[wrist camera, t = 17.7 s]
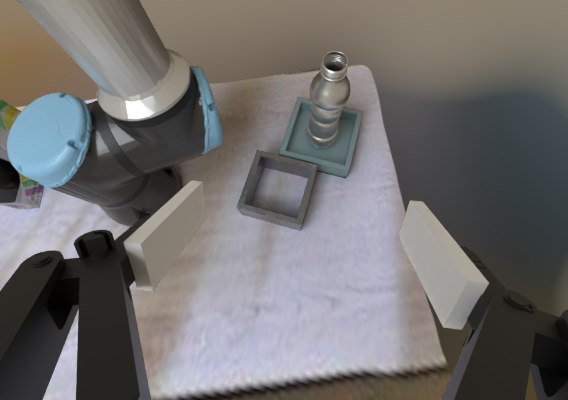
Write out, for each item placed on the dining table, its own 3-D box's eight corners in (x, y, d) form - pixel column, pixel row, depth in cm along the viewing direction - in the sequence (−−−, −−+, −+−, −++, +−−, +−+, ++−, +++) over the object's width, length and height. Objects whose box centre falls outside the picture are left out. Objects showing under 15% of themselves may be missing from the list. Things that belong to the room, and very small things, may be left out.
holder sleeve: (242, 214, 50) (236, 207, 46) (260, 161, 54) (257, 149, 49) (300, 230, 49) (301, 225, 44) (315, 175, 52) (317, 164, 47)
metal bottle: (333, 123, 55) (354, 40, 35) (337, 151, 52) (363, 79, 33) (303, 126, 55) (308, 44, 36) (306, 154, 53) (314, 83, 33)
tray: (279, 161, 53) (279, 154, 50) (297, 107, 57) (297, 97, 54) (345, 178, 52) (348, 171, 48) (359, 121, 56) (363, 111, 52)
